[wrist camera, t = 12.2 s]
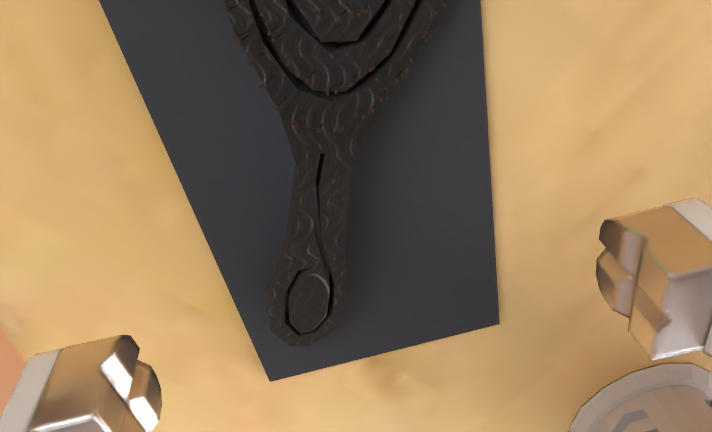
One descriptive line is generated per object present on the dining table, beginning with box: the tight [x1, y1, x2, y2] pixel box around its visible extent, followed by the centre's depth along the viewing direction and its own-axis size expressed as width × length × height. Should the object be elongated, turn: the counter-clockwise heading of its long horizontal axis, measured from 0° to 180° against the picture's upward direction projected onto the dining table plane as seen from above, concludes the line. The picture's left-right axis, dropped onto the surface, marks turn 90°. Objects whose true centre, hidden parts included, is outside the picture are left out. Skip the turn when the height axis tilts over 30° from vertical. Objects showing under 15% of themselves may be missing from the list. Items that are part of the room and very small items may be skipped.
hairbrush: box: [224, 0, 451, 347], centre depth 17 cm, size 8×4×25 cm
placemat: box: [99, 0, 499, 381], centre depth 19 cm, size 28×12×1 cm, turn 11°
